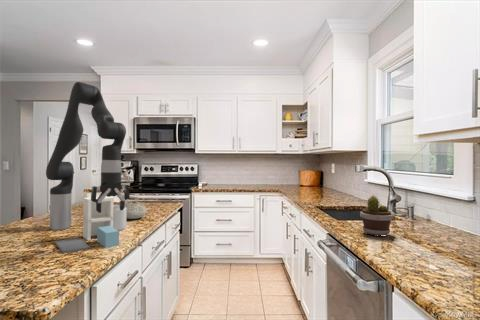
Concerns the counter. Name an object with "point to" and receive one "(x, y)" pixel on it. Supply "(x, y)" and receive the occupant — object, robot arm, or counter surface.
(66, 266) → the counter surface
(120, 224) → the can
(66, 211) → the robot arm
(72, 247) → the mat
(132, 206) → the decorative shell
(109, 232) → the block
